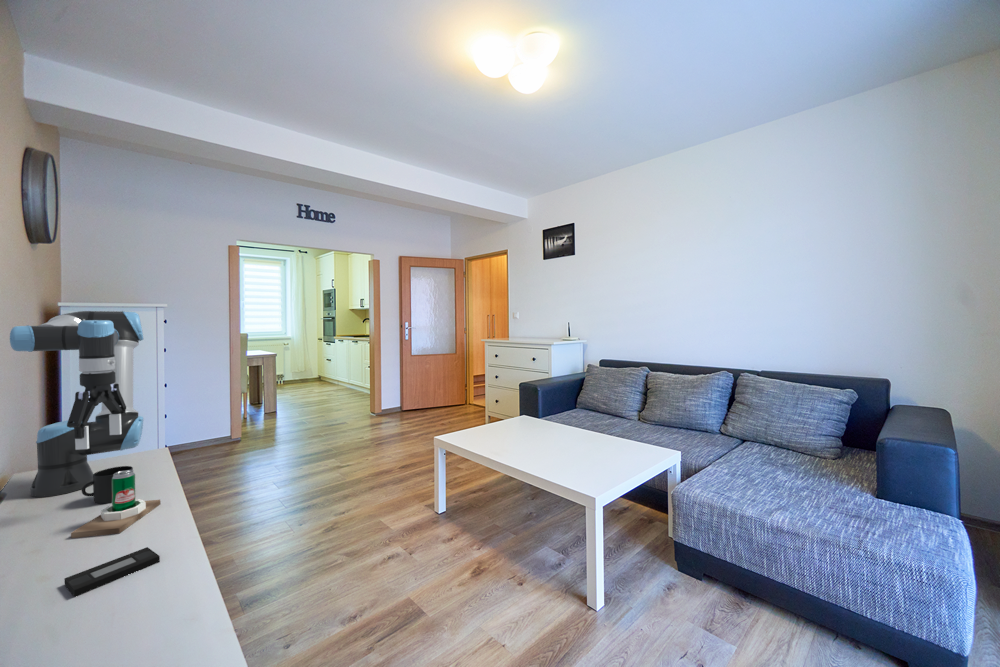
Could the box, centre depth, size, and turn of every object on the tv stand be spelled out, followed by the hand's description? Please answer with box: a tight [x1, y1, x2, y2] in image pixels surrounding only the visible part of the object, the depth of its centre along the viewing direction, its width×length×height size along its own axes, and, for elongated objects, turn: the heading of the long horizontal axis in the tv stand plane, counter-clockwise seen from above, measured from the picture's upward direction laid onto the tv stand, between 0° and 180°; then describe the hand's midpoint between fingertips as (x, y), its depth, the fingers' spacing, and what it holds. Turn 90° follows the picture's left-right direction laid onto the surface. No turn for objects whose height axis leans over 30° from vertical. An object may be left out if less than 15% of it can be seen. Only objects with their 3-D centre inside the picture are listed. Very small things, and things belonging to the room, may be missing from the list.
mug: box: [81, 465, 134, 505], centre depth 129 cm, size 9×12×9 cm
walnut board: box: [70, 499, 161, 539], centre depth 116 cm, size 18×11×2 cm, turn 13°
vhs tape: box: [64, 546, 161, 598], centre depth 91 cm, size 8×14×2 cm, turn 149°
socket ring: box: [100, 498, 146, 521], centre depth 117 cm, size 9×9×2 cm
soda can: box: [111, 469, 136, 512], centre depth 117 cm, size 5×5×12 cm
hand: (99, 441), depth 119 cm, fingers open, 13 cm apart
